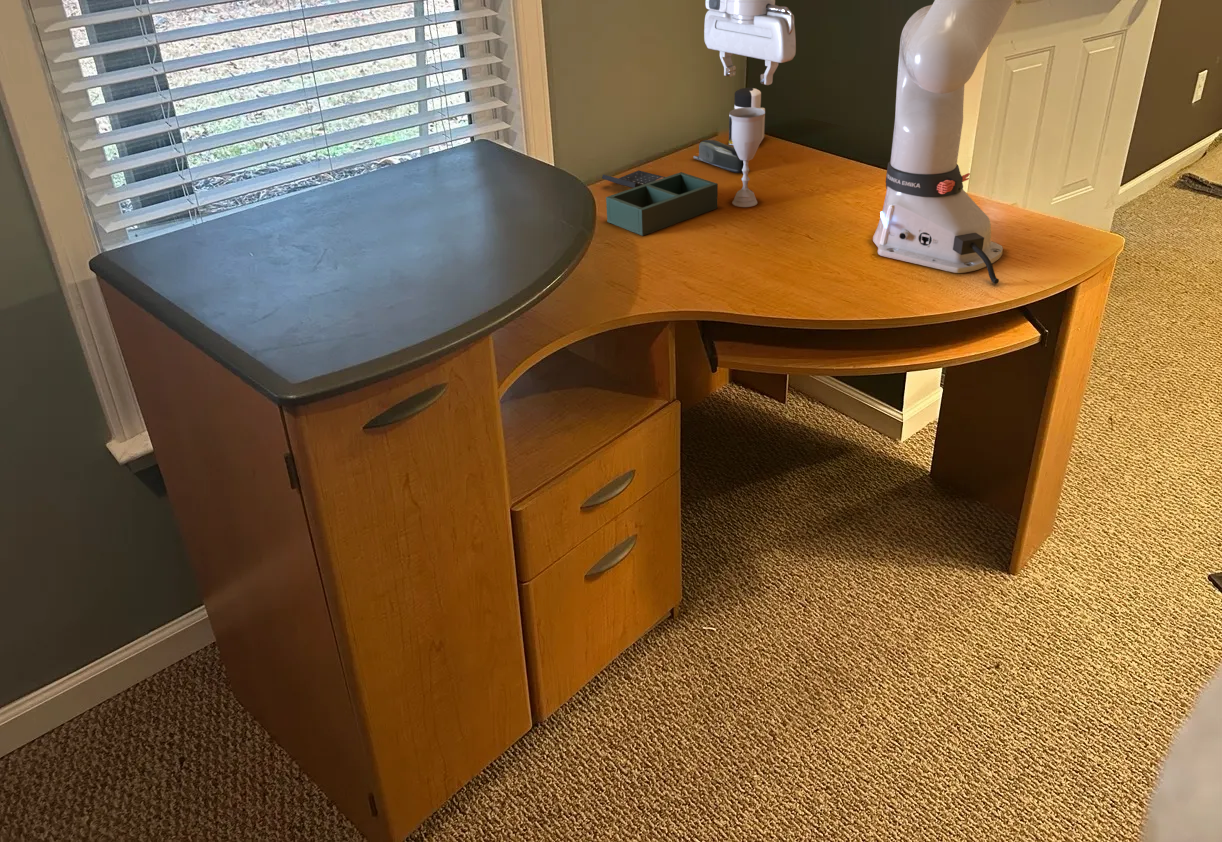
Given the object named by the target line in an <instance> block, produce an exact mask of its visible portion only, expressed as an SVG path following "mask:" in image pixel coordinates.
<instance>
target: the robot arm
mask: <svg viewBox="0 0 1222 842" xmlns="http://www.w3.org/2000/svg"><path fill="white" fill-rule="evenodd" d="M1014 2H1015V0H933V3H932V4H929V5H926V6H923V7H921V8H920V9H918V10H916V11H915V12H914V13H913V14H912V15H911V16H910V17H909V18H908V19H907V21H906V23H905V24H904V26H903V28H902V31H901V34H900V40H899V51H898V52H899V53H898V64H897V65H898V66H897V76H896V77H897V79H896V95H895V96H896V97H895V114H894V124H893V135H892V142H891V143H892V144H891V154H890V160H889V162H888V163H887V166H886V167H887V168H886V175H885V189H886V191H885V197H884V201H883V206H882V210H881V211H880V212H879V213H880V215H879V216H880V218H879V221H878V223H877V226H876V229H875V232H874V234H873V236H872V241H873V243H874V244H875V246H876V247H877V255H879V256H880V257H885V258H889V259H894V260H898V261H902V262H906V263H911V264H915V265H919V266H924V267H927V268H932V269H936V270H942V271H945V272H950V273H955V274H964V273H971V272H974V271H978V270H981V269H984V268H986V269H987V273H988V276H989V279H990V281H991V282H992V284H994V285H997V284H999V282H1000V279H999V278H997V276H996V274H995V269H994V265H993V264H994V263H995V262H997V261H998V260H999V259H1001V257H1002V256H1003V249H1004V248H1003V246H1002V245H1001V244H999V243H997V242H995V241H992V224H991V220H990V217H989V216H988V215H987V214H986V213H985V212H984V210H982V209H981V207H980V206H978V204H977V203H976V202H975V201H974V200H973V199H972V197H970V196H969V194H968V193H967V192H966V191H965V190H964V184H963V183H964V182H966V181H968V180H970V177H969V176H970V175H971V173H970V172H967V173H964V174H962V173H961V170H960V167H959V164H958V159H959V151H960V145H961V138H962V132H963V131H962V130H963V125H964V104H965V103H964V101H965V99H964V98H965V84H967V83H968V82H969V80H970V79H971V77H972V76H973V75H974V72H975V71H976V69H977V66H978V64H979V62H980V60H981V59H982V57H983V55H984V54H985V52H986V50H987V49H988V47H989V46H990V44H991V42H992V41H993V39H994V38H995V36H996V34H997V32H998V30H999V28H1000V26H1001V25H1002V23H1003V21H1004V19H1005V17H1006V15H1007V13H1008V12H1009V10H1010V9H1011V7H1012V5H1013V3H1014ZM705 8H706V9H707V11H706V13H705V16H704V29H703V40H704V41H703V42H704V43H705V46H706V48H707V49H708V50H713V51H719V59H720V62H721V64H722V66H723V76H725V77H729V78H733V77H735V76H736V74H737V72H736V70H737V66H736V65H734V64H733V60H732V56H733V54H734V55H739V56H744V57H748V58H752V59H753V58H754V59H758V60H762V61H763V60H764V66H765V67H766V69H765V70H764V73H761V74H760V77H759V78H760V82H759V83H760V84H761V85H765V86H769V85H772V84H773V81H774V80H773V79H774V74H775V72H776V70H777V69H778V66H779V64H782V63H786V62H790V61H792V60H793V59H794V57H795V56H796V52H797V43H796V42H797V41H796V40H797V39H796V27H795V15H794V14H793V12H792V11H791V10H790V9H789V7H787V6H784V5H783V6H782V5H781V6H779V5H776V0H705Z"/></svg>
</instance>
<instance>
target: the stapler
mask: <svg viewBox="0 0 1222 842" xmlns="http://www.w3.org/2000/svg"><path fill="white" fill-rule="evenodd" d="M693 159H694V160H698V161H700V162H704V163H707V164H709V165H712V166H715V167H718V168H720V169H722V170H726V171H728V172H731V173H736V174H741V173H742V174H743V171H742V169H743V166H744V163H743V160H740V159H739V157H738V155H737V153H736V151H735V148H734V146H732V145H729V144H725V143H723V142H721V141H718V140H715V139H704V140H701V141H700V142H699V143H698V156H697V155H693Z"/></svg>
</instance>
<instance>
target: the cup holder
mask: <svg viewBox="0 0 1222 842" xmlns="http://www.w3.org/2000/svg"><path fill="white" fill-rule="evenodd" d="M664 177H665V178H662V179H659V180H656V181H653V182H650V183H647V184H644V185H641V186H638V187H635V188H629V189H625V190H623V191H620V192H617V193H613V194H610V195H608V196H605V203H606V206H605V207H606V221H607V223H609V224H612V225H614V226H616V227H618V228H621V229H624V230H627V231H629V232H632V233H633V234H636V235H639V236H641V237H643V236H647V235H649V234H652V233H655V232H657V231H660V230H662V229H665V228H667V227H671V226H673V225H676V224H679V223H682V222H684V221H686V220H689V219H692V218H695V217H699V216H701V215H703V214H707V213H708V212H711V211H713V210H718V200H719V199H718V195H719V193H718V191H719V190H718V189H719V188H718V187H719V185H718V183H717V182H714V181H711V180H707V179H705V178H701V177H698V176H695V175H692V174H688V173H685V172H682V171H680V172H677V173H674V174H671V175H667V176H664Z"/></svg>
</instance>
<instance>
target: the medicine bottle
mask: <svg viewBox="0 0 1222 842" xmlns="http://www.w3.org/2000/svg"><path fill="white" fill-rule="evenodd" d="M733 103H734V107H733V109H738V108H747V107H752V108H760V109H763V110H764V111H765V112H766V108H765V107H761V105H762V91H761V90H759V89H757V88H756V87H755V88H754V87H742V88H739V89H737V90H736V91H735V92H734V102H733ZM728 123H729V124H728V146H734V145H733V142H732V119H731V116H730V114H729V117H728ZM765 124H766V113H765V114H764V116H763V118H762V139H761V141H760V144H761V143H762V142H763V140H764V138H765V128H766V127H765V126H766V125H765Z"/></svg>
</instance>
